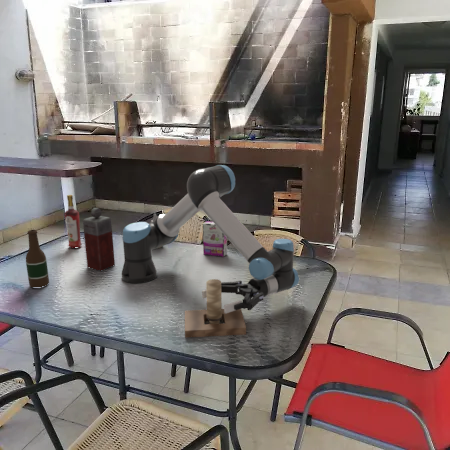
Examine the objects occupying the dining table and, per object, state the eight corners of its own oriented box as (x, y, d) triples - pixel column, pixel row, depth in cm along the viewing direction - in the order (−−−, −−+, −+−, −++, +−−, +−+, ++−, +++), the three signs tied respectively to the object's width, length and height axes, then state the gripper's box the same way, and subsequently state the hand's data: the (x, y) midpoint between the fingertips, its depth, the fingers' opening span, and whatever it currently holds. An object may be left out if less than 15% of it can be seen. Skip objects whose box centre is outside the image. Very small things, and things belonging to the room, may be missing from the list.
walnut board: (185, 337, 140) (184, 330, 140) (185, 316, 154) (184, 310, 153) (246, 334, 142) (246, 327, 141) (240, 314, 155) (240, 308, 155)
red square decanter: (98, 260, 209) (93, 204, 201) (115, 265, 203) (110, 207, 195) (83, 266, 201) (77, 208, 194) (100, 271, 196) (95, 211, 188)
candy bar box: (227, 254, 217) (227, 222, 212) (223, 257, 212) (223, 225, 208) (206, 251, 221) (206, 220, 216) (203, 254, 216) (202, 223, 211)
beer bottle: (53, 283, 183) (46, 229, 177) (38, 290, 176) (31, 234, 170) (40, 280, 186) (32, 227, 180) (25, 287, 180) (17, 232, 173)
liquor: (65, 249, 226) (59, 196, 218) (72, 244, 233) (66, 193, 225) (78, 249, 224) (72, 197, 217) (85, 245, 231) (79, 194, 224)
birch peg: (207, 329, 145) (206, 285, 141) (206, 322, 150) (205, 279, 146) (222, 328, 146) (222, 285, 141) (221, 321, 151) (221, 278, 146)
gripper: (285, 308, 148) (235, 326, 136) (241, 284, 167) (194, 298, 156) (286, 288, 146) (235, 305, 134) (241, 266, 165) (194, 279, 154)
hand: (213, 301), depth 145 cm, fingers open, 13 cm apart
